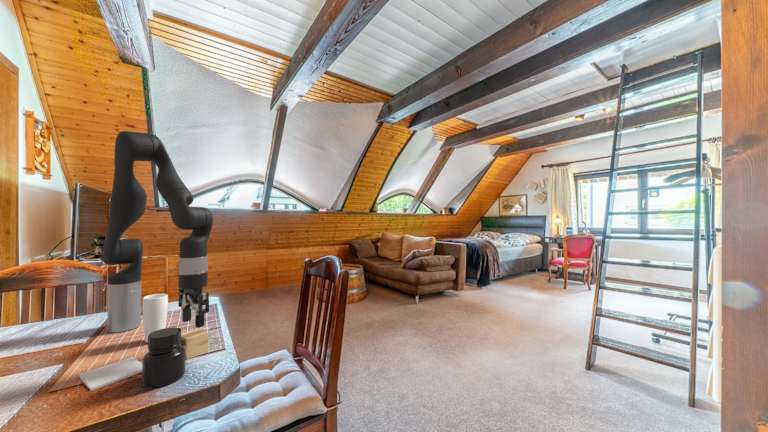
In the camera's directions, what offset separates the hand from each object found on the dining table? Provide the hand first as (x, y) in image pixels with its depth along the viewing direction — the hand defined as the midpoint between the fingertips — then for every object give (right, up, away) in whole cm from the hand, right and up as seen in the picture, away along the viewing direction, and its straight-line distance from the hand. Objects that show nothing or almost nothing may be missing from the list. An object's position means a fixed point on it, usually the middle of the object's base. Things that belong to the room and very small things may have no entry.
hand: (193, 323), depth 86 cm
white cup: (-19, -9, +8) cm, 22 cm away
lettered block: (0, -9, 0) cm, 9 cm away
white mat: (-13, -9, -11) cm, 20 cm away
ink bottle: (+2, -9, -13) cm, 16 cm away
